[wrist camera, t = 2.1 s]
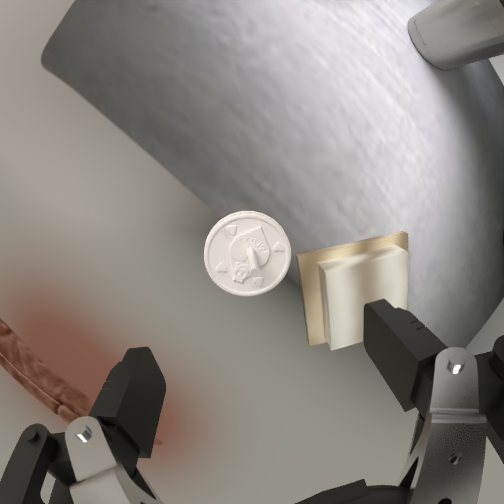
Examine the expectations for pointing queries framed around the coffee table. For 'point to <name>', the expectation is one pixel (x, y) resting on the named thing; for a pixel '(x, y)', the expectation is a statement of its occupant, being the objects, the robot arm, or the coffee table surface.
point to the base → (351, 286)
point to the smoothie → (247, 253)
